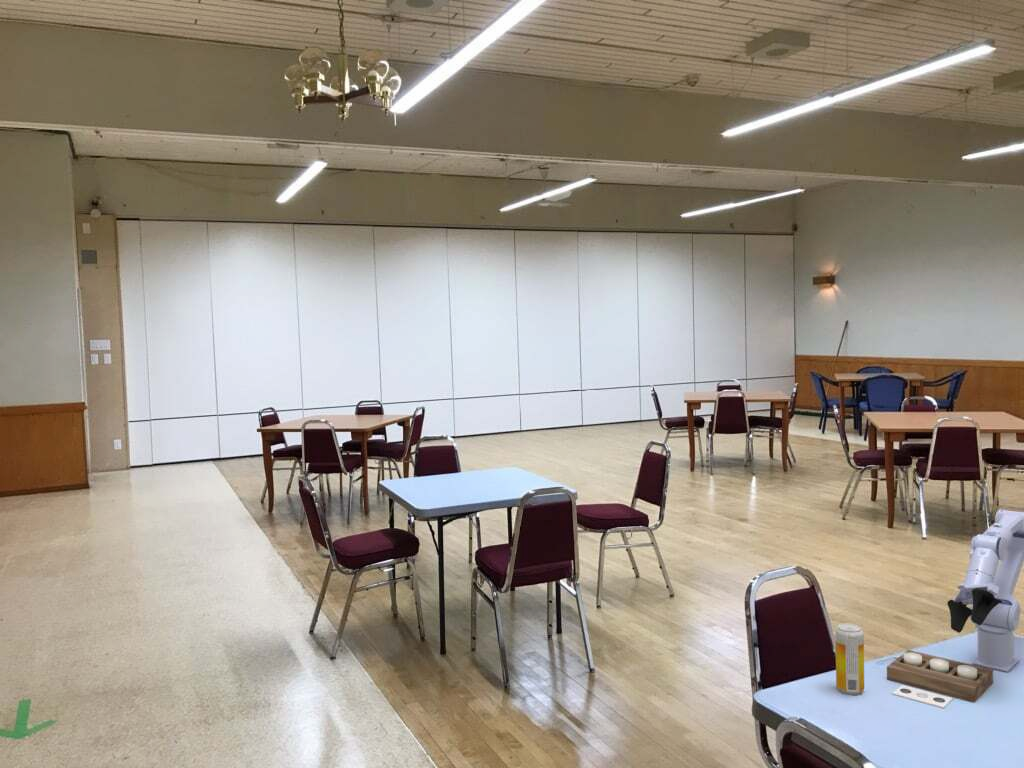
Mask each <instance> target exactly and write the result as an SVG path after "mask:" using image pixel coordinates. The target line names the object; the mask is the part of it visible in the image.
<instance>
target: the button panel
mask: <svg viewBox="0 0 1024 768" xmlns="http://www.w3.org/2000/svg"><path fill="white" fill-rule="evenodd" d="M908 652H912V653H917V654H920V655H921V656H922V666H921V667H917V666H913V665H909V664H904V653H908ZM904 653H902V654H901V655H900V656H898V658H896V659H894V660H893V661H892V662H891V663H889V664H888V665H886V680H888V681H892V682H895V683H899V684H901V685H905V686H909V687H913V688H916V689H920V690H924V691H928V692H932V693H935V694H939V695H943V696H947V697H951V698H956V699H960V700H963V701H967V702H971V703H975V702H977V701H978V699H980V697H981V696H982V695H983V694H985V692H986V691H987V690H988V689H989V688H990V687H991V686H992V685H993V684H994V669H992V668H988V667H984V666H980V665H975V664H972V663H971V664H970V663H965V662H962V661H957V660H953V659H950V658H945V657H940V656H937V655H932V654H927V653H924V652H919V651H915V650H911V649H908V650H906V651H904ZM931 659H943V660H946V661H948V662H949V673H948V674H945V673H941V672H937V671H933V670H930V660H931ZM959 665H968V666H972V667H975V668H976V669H977V680H976V681H974V680H969V679H965V678H961V677H957V667H958V666H959Z"/></svg>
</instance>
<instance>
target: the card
mask: <svg viewBox="0 0 1024 768" xmlns="http://www.w3.org/2000/svg"><path fill="white" fill-rule="evenodd" d="M891 694H892V695H894V696H896V697H900V698H905V699H908V700H910V701H911V700H912V701H915V702H918V703H922V704H925V705H930V706H933V707H937V708H941V709H945V708H946V707H947V706H948V705H949V704H950V703H951V702H953V700H954V699H953V698H954V697H951V696H947V695H943V694H940V693H936V692H932V691H928V690H924V689H921V688H917V687H913V686H909V685H906V684H901V685H900V686H899V687H898V688H896V689H895V690H894V691H892V693H891Z"/></svg>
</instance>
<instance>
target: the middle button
mask: <svg viewBox="0 0 1024 768" xmlns="http://www.w3.org/2000/svg"><path fill="white" fill-rule="evenodd" d="M930 670H933V671H937V672H941V673H945V674H948V673H949V662H948V661H946V660H943V659H931V660H930Z"/></svg>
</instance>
